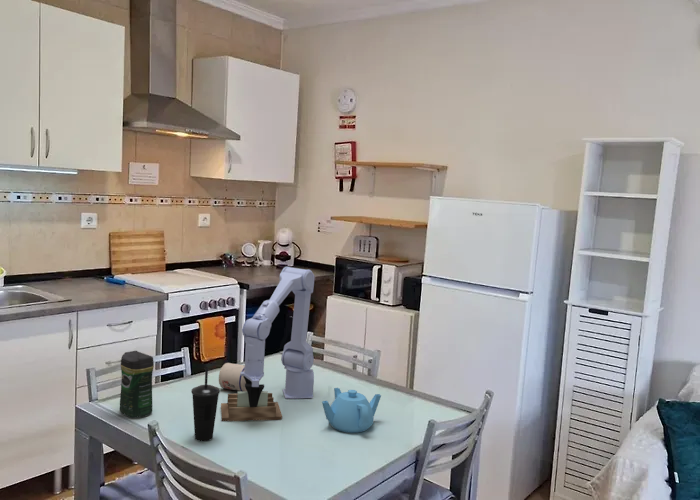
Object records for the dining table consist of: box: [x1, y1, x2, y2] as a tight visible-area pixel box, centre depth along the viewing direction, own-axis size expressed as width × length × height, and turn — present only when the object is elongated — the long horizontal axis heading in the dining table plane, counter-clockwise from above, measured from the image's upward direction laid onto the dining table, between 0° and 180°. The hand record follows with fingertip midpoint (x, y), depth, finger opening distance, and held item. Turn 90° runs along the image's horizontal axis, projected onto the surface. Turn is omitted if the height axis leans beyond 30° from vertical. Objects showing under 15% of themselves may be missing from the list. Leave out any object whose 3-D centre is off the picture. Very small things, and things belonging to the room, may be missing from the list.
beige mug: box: [218, 362, 247, 392], centre depth 205 cm, size 12×9×12 cm
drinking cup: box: [190, 366, 221, 442], centre depth 165 cm, size 8×8×20 cm
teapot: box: [321, 387, 382, 434], centre depth 181 cm, size 15×15×11 cm
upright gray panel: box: [236, 390, 269, 407], centre depth 181 cm, size 9×2×7 cm, turn 103°
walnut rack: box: [220, 392, 283, 422], centre depth 185 cm, size 18×12×4 cm
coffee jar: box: [119, 350, 155, 419], centre depth 178 cm, size 10×8×19 cm
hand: (252, 402), depth 181 cm, fingers open, 7 cm apart
